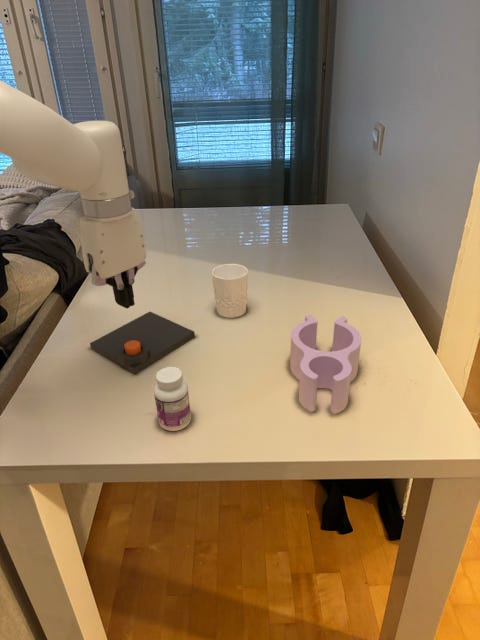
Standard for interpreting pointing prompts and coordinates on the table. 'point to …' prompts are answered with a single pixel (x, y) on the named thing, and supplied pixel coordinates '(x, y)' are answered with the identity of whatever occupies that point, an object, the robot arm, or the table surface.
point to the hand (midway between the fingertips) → (125, 304)
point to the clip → (324, 362)
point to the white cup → (230, 289)
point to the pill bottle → (172, 399)
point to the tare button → (132, 347)
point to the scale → (143, 341)
